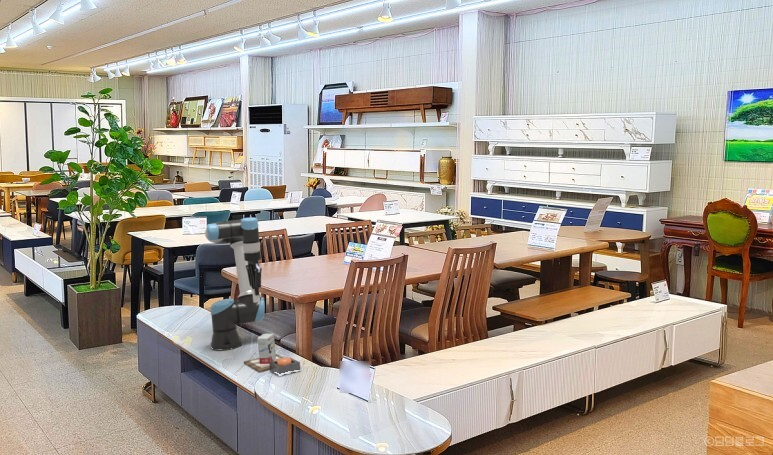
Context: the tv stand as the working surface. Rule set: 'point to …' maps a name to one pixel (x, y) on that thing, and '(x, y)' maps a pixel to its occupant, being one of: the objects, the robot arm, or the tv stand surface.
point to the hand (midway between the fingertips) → (256, 301)
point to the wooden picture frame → (257, 366)
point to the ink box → (266, 348)
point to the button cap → (284, 361)
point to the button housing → (284, 366)
